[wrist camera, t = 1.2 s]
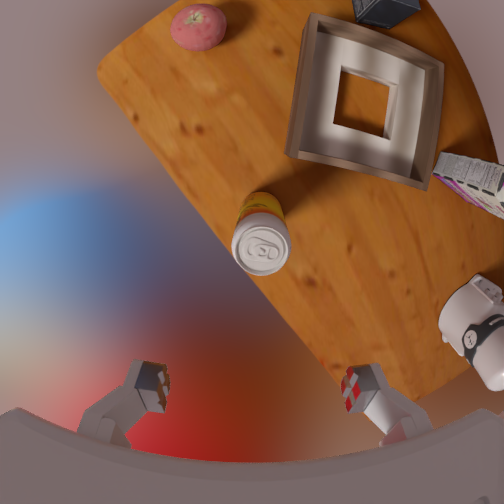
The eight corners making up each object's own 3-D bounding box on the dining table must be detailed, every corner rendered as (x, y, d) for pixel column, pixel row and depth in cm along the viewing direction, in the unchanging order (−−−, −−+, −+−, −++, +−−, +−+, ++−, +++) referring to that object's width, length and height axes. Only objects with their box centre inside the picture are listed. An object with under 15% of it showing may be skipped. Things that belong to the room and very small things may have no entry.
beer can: (245, 186, 39) (237, 215, 25) (285, 196, 39) (300, 230, 26) (236, 224, 41) (225, 271, 28) (275, 233, 42) (282, 284, 28)
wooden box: (420, 70, 29) (444, 63, 23) (404, 181, 37) (426, 191, 31) (302, 30, 29) (310, 12, 22) (283, 153, 37) (289, 157, 30)
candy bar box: (475, 179, 36) (536, 205, 21) (466, 201, 38) (525, 234, 23) (439, 148, 35) (507, 164, 20) (430, 173, 37) (496, 199, 22)
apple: (192, 13, 27) (178, -9, 20) (237, 23, 28) (232, 0, 21) (172, 51, 30) (153, 35, 23) (217, 62, 31) (207, 46, 24)
